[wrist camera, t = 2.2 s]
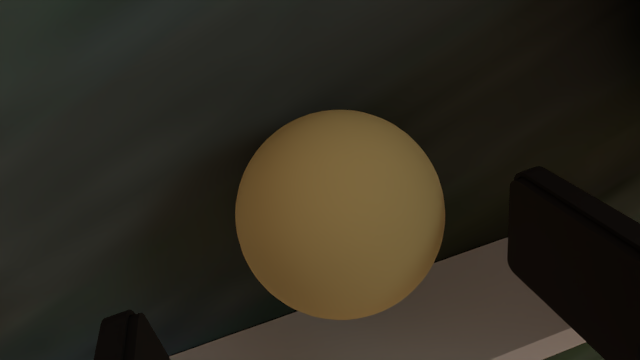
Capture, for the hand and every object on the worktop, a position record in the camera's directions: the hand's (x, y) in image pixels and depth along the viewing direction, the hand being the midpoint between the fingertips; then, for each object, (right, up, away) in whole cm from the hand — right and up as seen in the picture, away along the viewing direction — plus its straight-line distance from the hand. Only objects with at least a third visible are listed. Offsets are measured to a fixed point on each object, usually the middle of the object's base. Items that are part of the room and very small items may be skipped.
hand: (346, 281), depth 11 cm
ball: (0, +2, +2) cm, 3 cm away
